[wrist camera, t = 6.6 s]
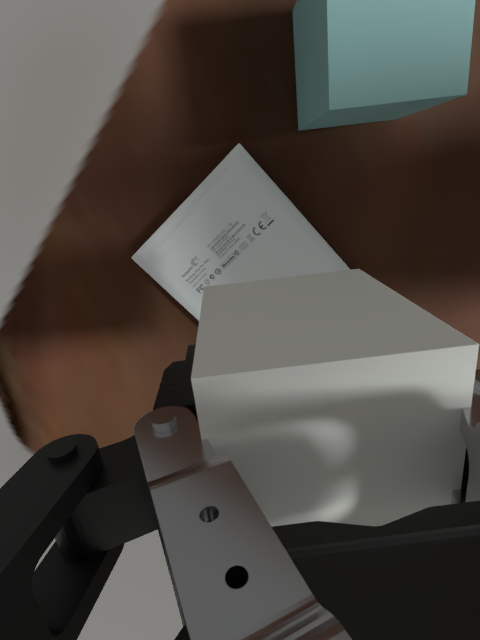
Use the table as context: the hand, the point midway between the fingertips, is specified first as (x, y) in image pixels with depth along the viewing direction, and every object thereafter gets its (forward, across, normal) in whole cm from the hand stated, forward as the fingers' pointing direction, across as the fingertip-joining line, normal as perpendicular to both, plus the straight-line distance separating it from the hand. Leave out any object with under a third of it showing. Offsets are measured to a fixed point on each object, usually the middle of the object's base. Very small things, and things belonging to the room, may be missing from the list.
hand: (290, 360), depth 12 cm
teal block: (+10, -5, -10) cm, 15 cm away
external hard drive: (+11, 0, 0) cm, 11 cm away
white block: (+1, 0, 0) cm, 1 cm away
